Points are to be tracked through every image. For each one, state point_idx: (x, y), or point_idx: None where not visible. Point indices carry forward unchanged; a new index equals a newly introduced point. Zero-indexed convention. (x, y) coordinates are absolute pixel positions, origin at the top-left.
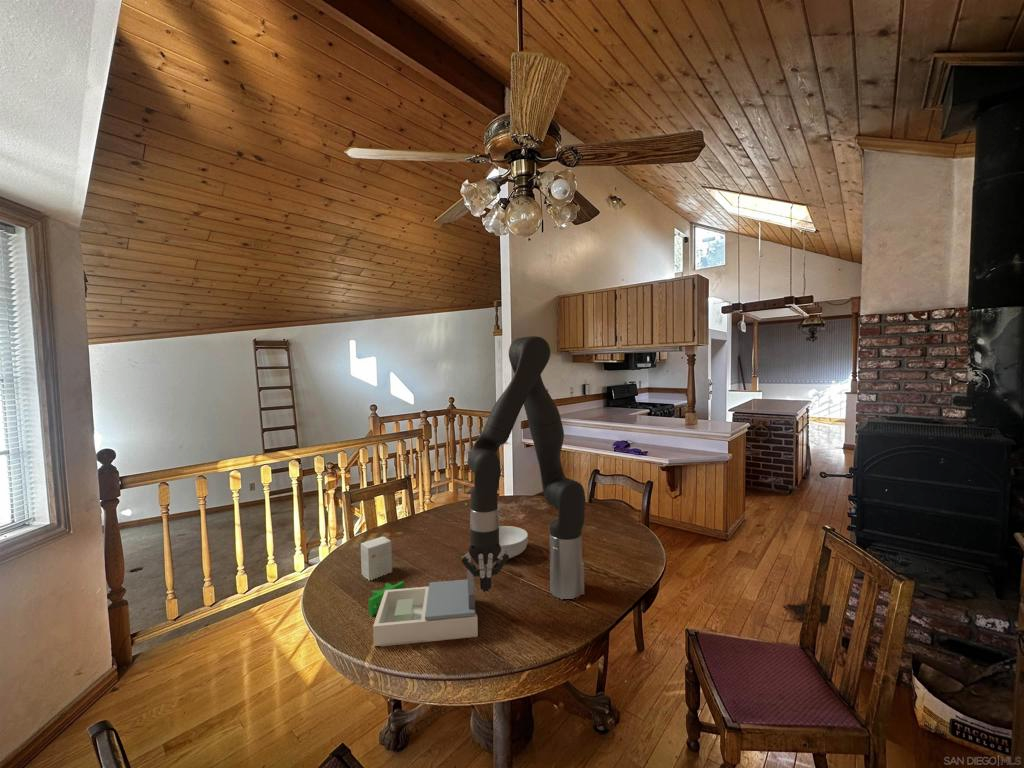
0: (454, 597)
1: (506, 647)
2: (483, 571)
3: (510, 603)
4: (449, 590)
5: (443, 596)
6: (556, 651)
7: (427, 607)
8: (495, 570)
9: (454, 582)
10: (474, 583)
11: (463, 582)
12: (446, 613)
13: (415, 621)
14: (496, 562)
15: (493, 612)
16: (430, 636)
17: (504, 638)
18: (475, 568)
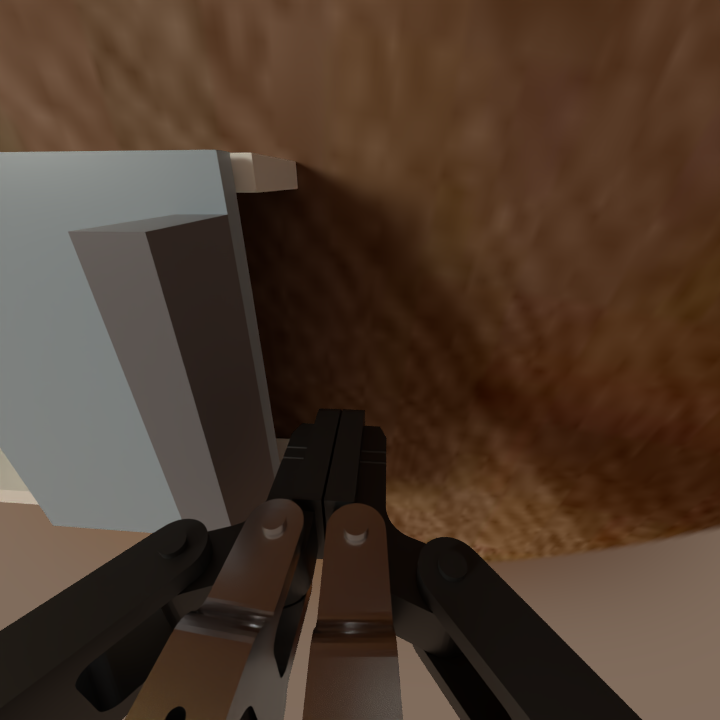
0: (137, 415)
1: (415, 509)
2: (284, 649)
3: (521, 245)
4: (64, 327)
5: (58, 393)
6: (570, 549)
7: (21, 469)
8: (438, 665)
9: (48, 197)
10: (252, 170)
11: (137, 214)
12: (144, 523)
13: (28, 499)
14: (501, 687)
15: (401, 316)
16: None
17: (418, 476)
18: (166, 599)
